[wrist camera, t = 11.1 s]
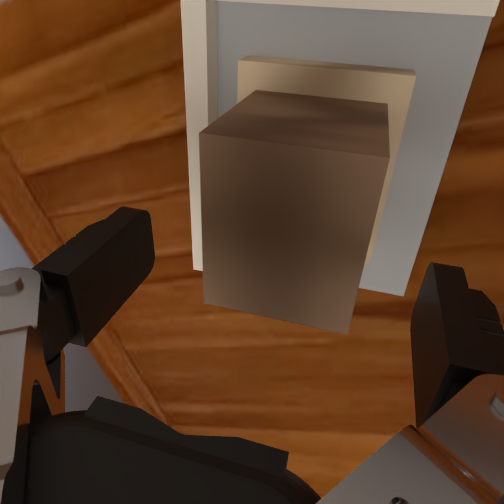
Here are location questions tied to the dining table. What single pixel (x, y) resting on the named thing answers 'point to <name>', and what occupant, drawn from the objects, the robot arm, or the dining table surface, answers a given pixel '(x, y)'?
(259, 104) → the two-tone stepped block
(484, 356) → the robot arm
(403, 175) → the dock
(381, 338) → the dining table surface
